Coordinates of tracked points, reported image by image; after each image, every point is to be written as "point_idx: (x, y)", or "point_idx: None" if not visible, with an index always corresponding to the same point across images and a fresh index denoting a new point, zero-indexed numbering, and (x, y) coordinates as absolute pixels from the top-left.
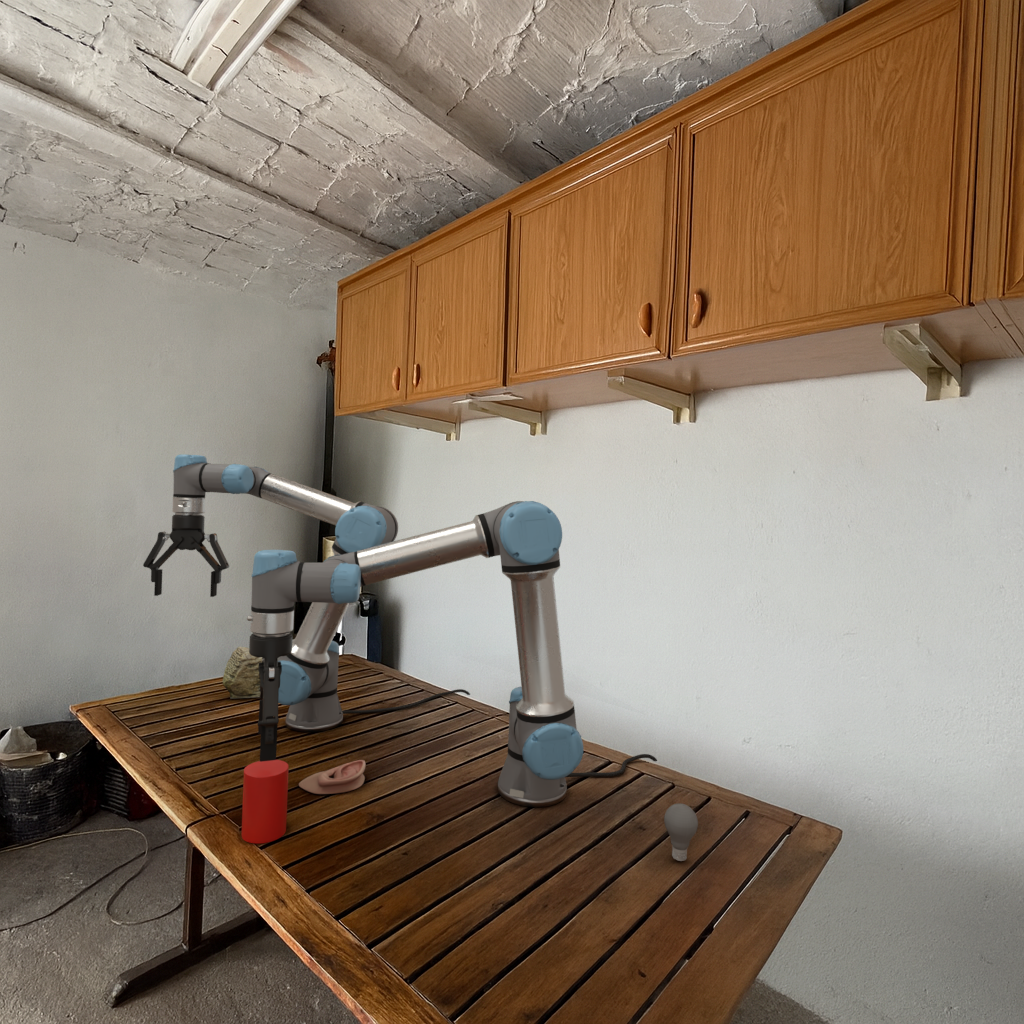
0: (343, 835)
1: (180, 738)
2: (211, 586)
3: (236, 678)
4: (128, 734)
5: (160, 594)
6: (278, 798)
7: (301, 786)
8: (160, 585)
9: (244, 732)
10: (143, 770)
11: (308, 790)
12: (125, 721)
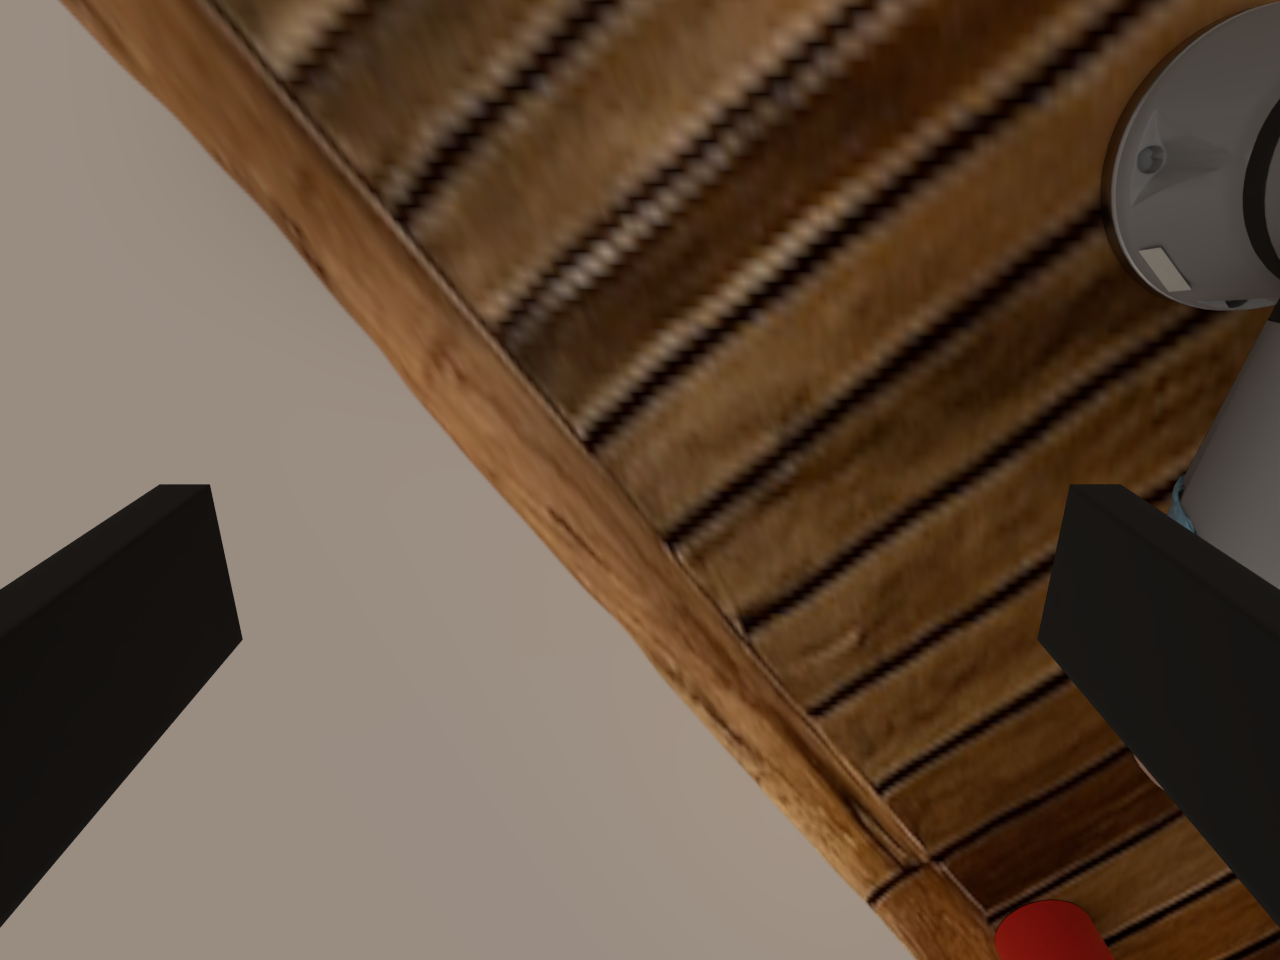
0: (1217, 952)
1: (663, 353)
2: (1149, 755)
3: None
4: (429, 299)
5: (218, 528)
6: None
7: (1142, 767)
8: (126, 619)
9: (916, 290)
10: (642, 629)
11: (1159, 786)
12: (323, 118)
